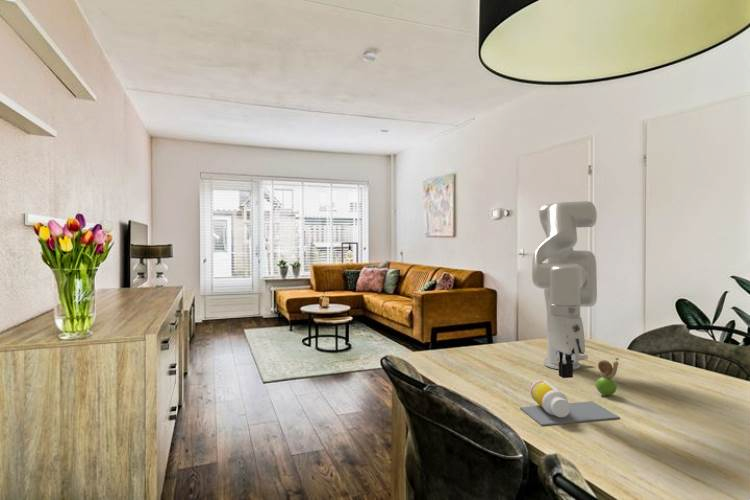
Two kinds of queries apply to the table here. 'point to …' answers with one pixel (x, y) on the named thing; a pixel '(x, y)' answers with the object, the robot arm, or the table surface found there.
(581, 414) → the mat
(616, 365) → the snail figurine
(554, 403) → the supplement bottle
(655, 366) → the table surface
